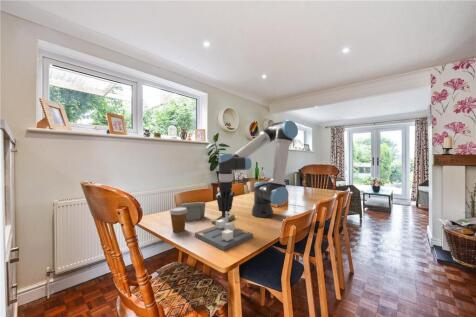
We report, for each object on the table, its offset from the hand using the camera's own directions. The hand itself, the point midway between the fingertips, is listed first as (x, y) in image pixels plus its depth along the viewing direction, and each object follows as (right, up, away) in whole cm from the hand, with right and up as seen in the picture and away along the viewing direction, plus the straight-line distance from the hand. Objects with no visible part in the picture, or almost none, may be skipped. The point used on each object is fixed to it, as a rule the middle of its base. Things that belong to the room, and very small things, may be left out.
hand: (225, 223), depth 114 cm
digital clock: (-23, -4, +20) cm, 30 cm away
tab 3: (+2, -2, -18) cm, 18 cm away
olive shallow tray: (-2, -4, +15) cm, 16 cm away
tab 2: (+3, -1, -7) cm, 8 cm away
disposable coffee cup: (-26, -4, -1) cm, 26 cm away
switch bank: (0, -4, -10) cm, 11 cm away
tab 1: (-2, -1, -3) cm, 4 cm away
